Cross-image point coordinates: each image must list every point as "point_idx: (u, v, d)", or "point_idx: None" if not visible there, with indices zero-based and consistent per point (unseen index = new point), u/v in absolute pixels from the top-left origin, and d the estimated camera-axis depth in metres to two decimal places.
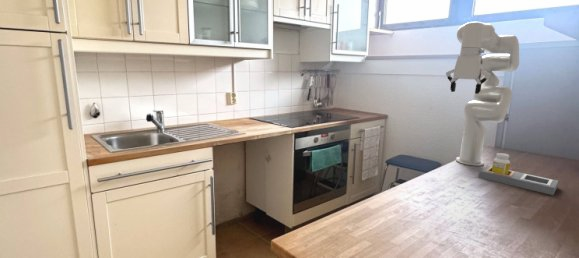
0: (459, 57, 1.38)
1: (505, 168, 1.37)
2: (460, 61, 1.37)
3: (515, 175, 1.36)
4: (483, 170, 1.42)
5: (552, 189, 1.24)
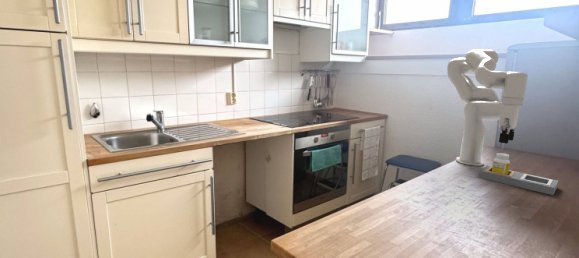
0: (515, 107, 1.31)
1: (505, 168, 1.37)
2: (515, 112, 1.31)
3: (515, 175, 1.36)
4: (483, 170, 1.42)
5: (552, 189, 1.24)
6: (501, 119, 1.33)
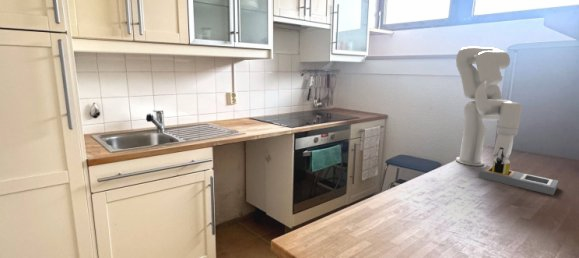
0: (510, 137, 1.34)
1: (505, 168, 1.37)
2: (510, 141, 1.34)
3: (515, 175, 1.36)
4: (483, 170, 1.42)
5: (552, 189, 1.24)
6: (496, 148, 1.36)
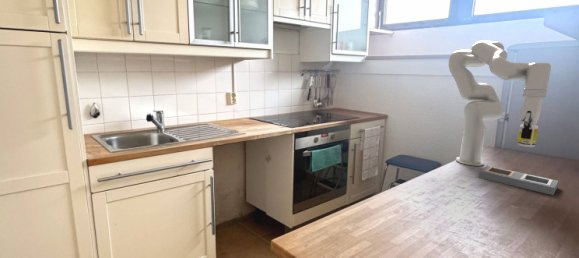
0: (538, 100, 1.25)
1: (533, 133, 1.28)
2: (538, 104, 1.26)
3: (515, 175, 1.36)
4: (483, 170, 1.42)
5: (552, 189, 1.24)
6: (523, 112, 1.28)
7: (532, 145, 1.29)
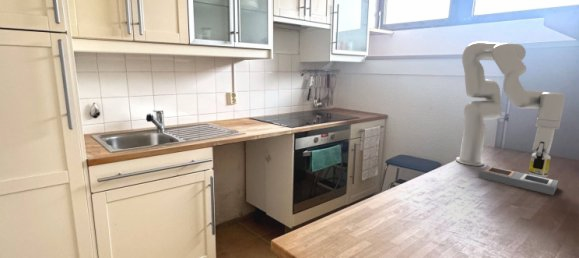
0: (552, 130, 1.24)
1: (545, 163, 1.27)
2: (552, 135, 1.24)
3: (515, 175, 1.36)
4: (483, 170, 1.42)
5: (552, 189, 1.24)
6: (535, 142, 1.26)
7: (544, 175, 1.28)
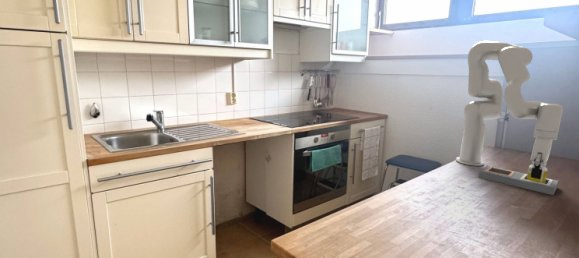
0: (549, 141, 1.24)
1: (542, 176, 1.28)
2: (549, 146, 1.25)
3: (515, 175, 1.36)
4: (483, 170, 1.42)
5: (552, 189, 1.24)
6: (533, 153, 1.27)
7: None
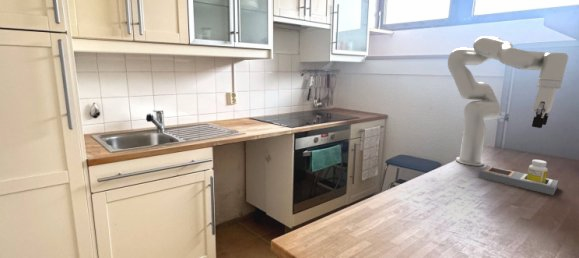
0: (553, 90, 1.24)
1: (542, 176, 1.28)
2: (552, 95, 1.25)
3: (515, 175, 1.36)
4: (483, 170, 1.42)
5: (552, 189, 1.24)
6: (536, 102, 1.27)
7: None
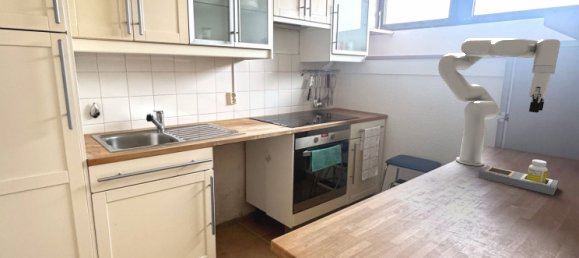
0: (547, 75, 1.29)
1: (542, 176, 1.28)
2: (547, 80, 1.29)
3: (515, 175, 1.36)
4: (483, 170, 1.42)
5: (552, 189, 1.24)
6: (532, 88, 1.31)
7: None
